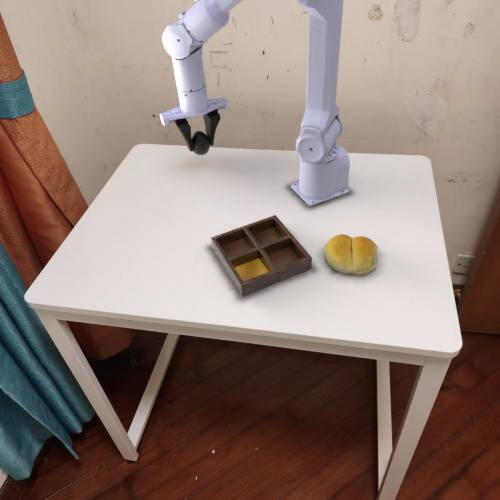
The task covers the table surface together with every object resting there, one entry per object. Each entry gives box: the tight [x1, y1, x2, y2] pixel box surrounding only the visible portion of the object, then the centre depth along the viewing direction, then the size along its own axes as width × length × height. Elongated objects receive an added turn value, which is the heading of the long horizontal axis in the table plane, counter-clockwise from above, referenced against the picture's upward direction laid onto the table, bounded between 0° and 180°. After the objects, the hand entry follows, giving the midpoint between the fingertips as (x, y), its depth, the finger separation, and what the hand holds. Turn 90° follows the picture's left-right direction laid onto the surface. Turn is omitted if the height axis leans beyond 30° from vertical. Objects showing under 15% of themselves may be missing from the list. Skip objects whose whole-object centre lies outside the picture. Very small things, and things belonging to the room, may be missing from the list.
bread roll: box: [323, 233, 379, 275], centre depth 76 cm, size 8×9×4 cm
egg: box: [191, 130, 211, 156], centre depth 97 cm, size 4×4×5 cm
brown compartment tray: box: [210, 214, 313, 297], centre depth 78 cm, size 13×13×3 cm
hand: (200, 146), depth 98 cm, fingers closed on egg, 4 cm apart
